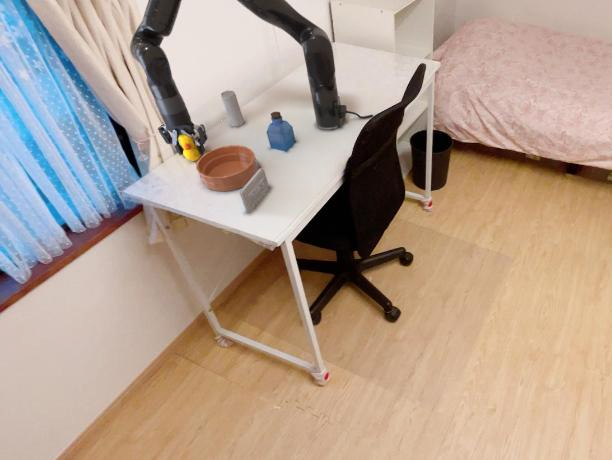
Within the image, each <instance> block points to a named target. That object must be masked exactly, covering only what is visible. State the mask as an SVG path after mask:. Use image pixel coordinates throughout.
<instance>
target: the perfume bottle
mask: <svg viewBox="0 0 612 460" xmlns="http://www.w3.org/2000/svg"><path fill="white" fill-rule="evenodd" d="M270 120H271V122H270V124H269V125H268V127H267V130H266V132H265V133H266V136H267V140H268V143H269V146H270V149H273V150H278V151H282V152H288V151H289V150H290V149H291V148H292V147H293V146H294V145H295V144H296V142H297V141H296V136H295V132H294V131H295V130H294V128H293V125H292V124H290V122H288V121H287V120H284V119H283V115H281V112H280V111H273V112H271V113H270Z"/></svg>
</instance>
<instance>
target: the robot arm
mask: <svg viewBox="0 0 612 460" xmlns="http://www.w3.org/2000/svg"><path fill="white" fill-rule="evenodd" d="M182 1H183V0H148V1H147V4H146V6H145V9H144V14H143V17H142V20H141V22H140V23H139V25H138V26H137V28H136V31H135V32H134V33H133V36H132V38H131V40H130V44H129V51H130V55H131V56H132V58H134V60H135V61H136V62H138V64H140V65H141V68H142V70H143V72H144V74H145V76H146V83H147V86H148V88H149V91H150V93H151V95H152V97H153V100H154V103H155V107H156V108H157V110H158V112H159V115H160V117H161V119H162V121H163V123H162V124H163V125H161V124H160V125H161V126H160V125H159V126H160V127H159V126H158V127H157V131H158V130H159V131H158V133H159V134H160V136H161V138H162V139H163V140H164V142H165V144H167V145H172V146H173V147H174V149H175V151H176V153H177V154H179V156H184V154H183V147H182V146H181V145H180V143H179V140H178V137H179V135H182V134H184V135H185V136H187V137H189V138H191V139H192V140H193V141H194V143H195V144H196V145H197V149H198V151H199V153H200V156H203V155H204V154H205V152H206V147H205V144H206V142H207V141H208V135H207V132H206V128H205V125H204V124H203V123H201V124H199V125H198V124H194V123H193V121H192V118H191V115H190V113H189V110H188V108H187V104H186V103H185V101H184V98H183V96H182V95H181V93H180V91H179V88H178V86H177V83H176V81H175V79H174V78H173V72H172V69H171V65H170V61H169V59H168V57H167V56H168V55H167V54H166V52H165V51H164V49H163V48H162V47H161V44H162V43H163V40H164V39H165V38H166V37H167V38H168V37H170V35H171V33H173V30H174V26H175V24H176V20H177V18H178V16H179V15H178V14H179V11H180V8H181V4H182ZM236 1H237V2H238V3H239V4H241V6H243V8H246V9H247V10H248V11H250V13H252V14H253V15H254V16H256V17H257V18H258V19H260V20H262V21H264V22H266V23H267V24H270V25H272V26H273V27H276V28H278V29H280V30H282V31H283V32H284V33H286V34H288V35H289V36H290V37H291V38H292V39H293V40H294V41H296V42H297V43H298V45H300V46H301V48H302V53H303V56H304V61H305V68H306V74H307V80H308V85H309V90H310V96H311V101H312V106H313V112H314V117H315V124H316V127H317V128H318V129H320V130H324V131H332V130H336V129H340V128H341V129H342V124H343V120H345V119H346V117H347V114H351V115H355V116H356V117H358V118H359V119H369V118H373V117H374V115H373V114H368V115H364V116H362V115H360V114H359V113H356V112H354V111H349V110H348V107H347V104H341V97H340V95H339V92H338V85H337V78H336V77H337V75H336V65H335V64H336V63H335V57H334V55H335V54H334V50H333V45H332V41H331V40H330V38H329V35H328V34H327V32H326V31H325V30H324V29H322V28H321V27H320V26H318V25H317V24H315V23H313V22H312V21H311V20H309V19H308V18H307V17H305V16H304V15H302V14H301V13H300V12H298V11H297V10H296V9H295V8H294V7H293V6H292V5H291V4H290V3H289V2H288V1H287V0H236ZM170 133H171V134H172V135H171V134H170ZM191 135H192V136H193V137H192V136H191Z"/></svg>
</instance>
